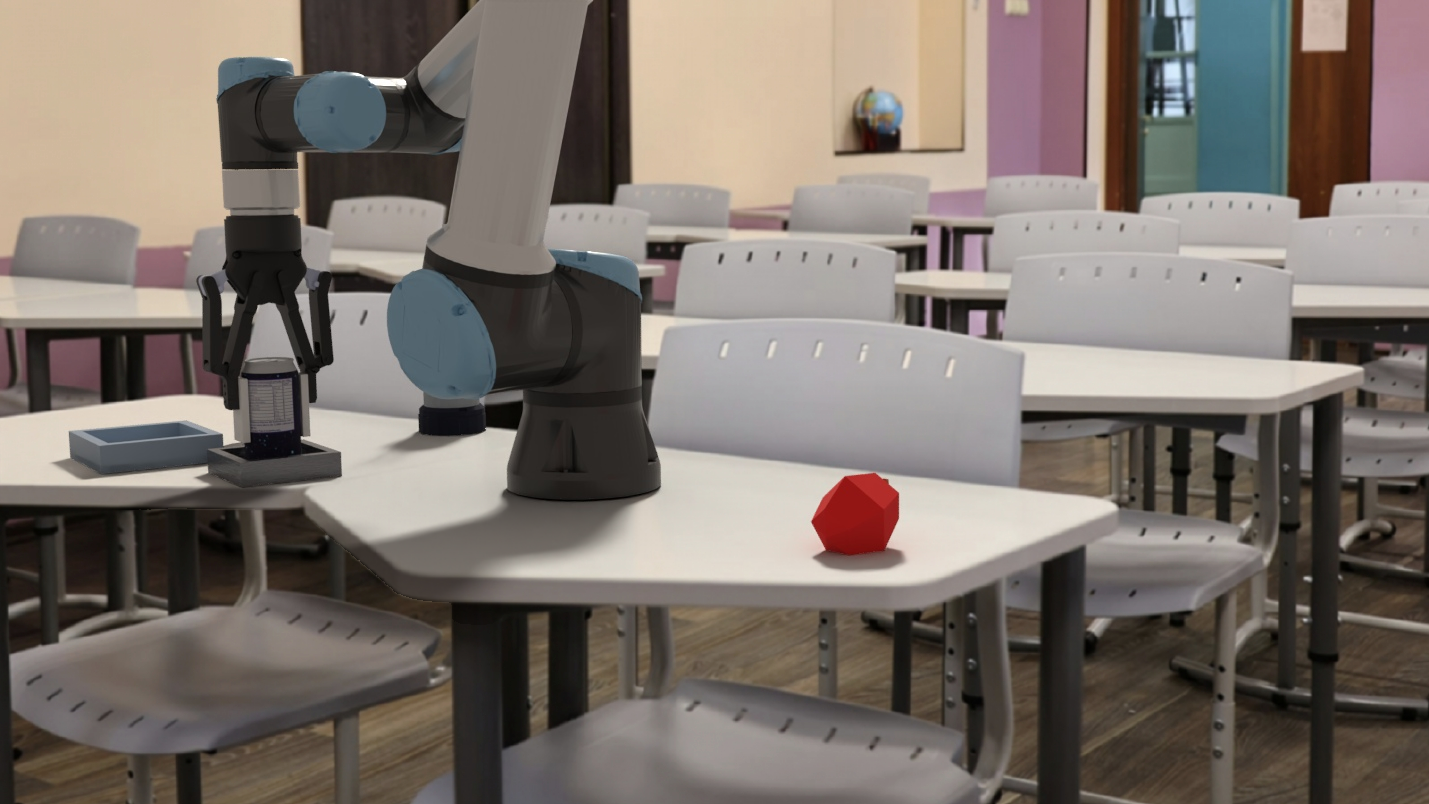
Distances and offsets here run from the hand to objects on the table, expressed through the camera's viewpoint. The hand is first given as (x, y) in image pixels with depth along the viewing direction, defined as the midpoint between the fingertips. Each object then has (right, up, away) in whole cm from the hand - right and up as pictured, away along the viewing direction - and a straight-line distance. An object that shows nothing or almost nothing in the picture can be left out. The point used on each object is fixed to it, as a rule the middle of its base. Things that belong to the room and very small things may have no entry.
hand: (272, 437), depth 168 cm
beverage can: (0, -4, +1) cm, 4 cm away
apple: (+57, -8, -36) cm, 68 cm away
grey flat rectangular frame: (-2, -3, +3) cm, 5 cm away
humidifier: (+14, 0, +29) cm, 33 cm away
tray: (-17, -3, +11) cm, 20 cm away
